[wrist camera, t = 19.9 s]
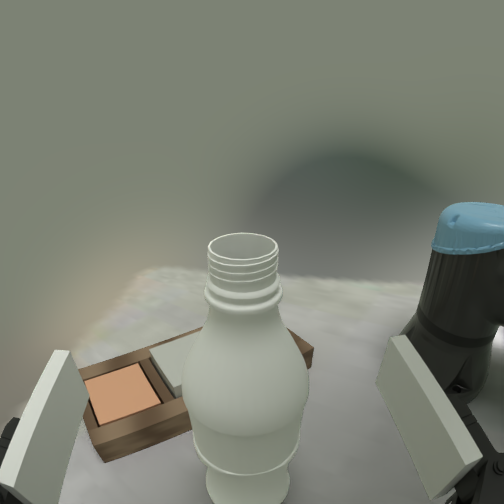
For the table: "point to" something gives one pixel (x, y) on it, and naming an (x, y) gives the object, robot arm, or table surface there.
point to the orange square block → (121, 394)
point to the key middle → (172, 362)
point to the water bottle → (245, 376)
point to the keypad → (150, 421)
